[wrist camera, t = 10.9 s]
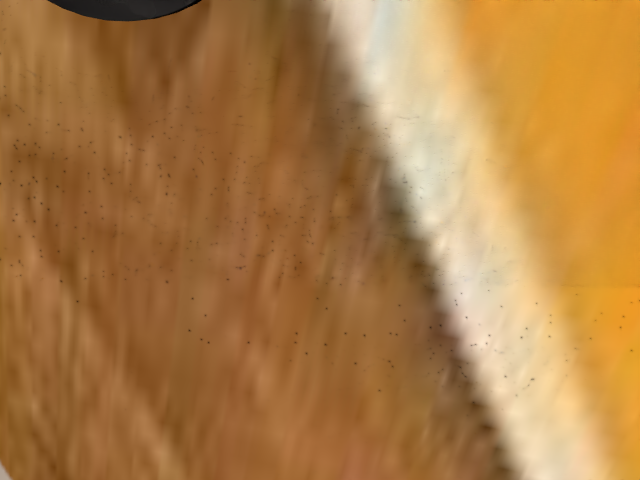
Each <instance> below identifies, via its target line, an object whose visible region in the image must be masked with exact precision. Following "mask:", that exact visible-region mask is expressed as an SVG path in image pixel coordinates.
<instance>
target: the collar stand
mask: <svg viewBox="0 0 640 480" xmlns="http://www.w3.org/2000/svg"><path fill="white" fill-rule="evenodd" d="M48 1H50V2H52V3H54V4H56V5H58V6H59V7H61V8H63V9H66V10H69V11H72V12H75V13H77V14H80V15H83V16H87V17H92V18H97V19H102V20H111V21H138V20H147V19H156V18H160V17H163V16H167V15H171V14H174V13H177V12H180V11H182V10H184V9H186V8H188V7H190V6H193V5H195V4H197V3H198V2H200V1H201V0H48Z"/></svg>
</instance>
